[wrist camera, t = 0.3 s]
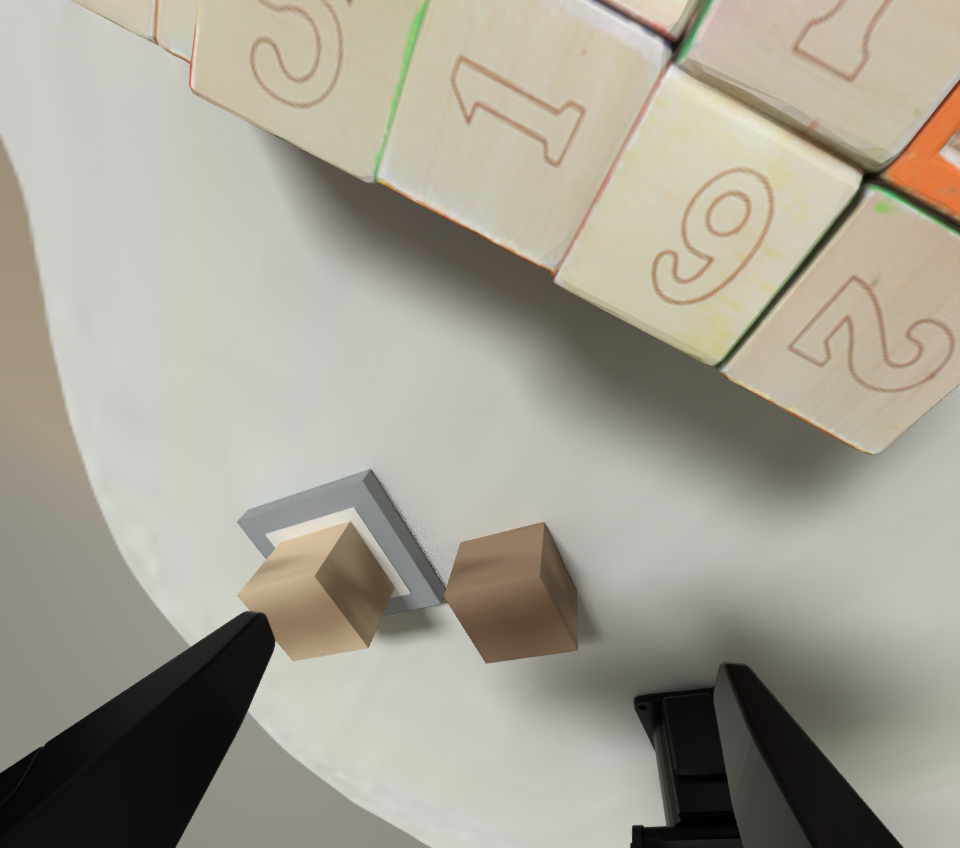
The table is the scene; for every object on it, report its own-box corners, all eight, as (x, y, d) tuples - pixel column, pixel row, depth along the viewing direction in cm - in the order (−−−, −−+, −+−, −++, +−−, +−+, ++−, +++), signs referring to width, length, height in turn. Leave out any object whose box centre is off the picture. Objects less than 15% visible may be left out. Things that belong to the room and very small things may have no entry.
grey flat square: (445, 589, 28) (440, 605, 27) (328, 614, 31) (319, 629, 30) (370, 469, 25) (361, 482, 23) (248, 510, 28) (235, 523, 26)
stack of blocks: (197, 28, 17) (-461, -248, 6) (224, -218, 14) (-982, -1612, 3) (699, 302, 18) (885, 473, 7) (824, 131, 15) (1446, 0, 4)
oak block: (395, 587, 27) (368, 647, 23) (327, 602, 28) (293, 661, 25) (350, 521, 25) (314, 576, 21) (281, 541, 27) (237, 595, 23)
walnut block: (576, 588, 26) (577, 650, 23) (496, 603, 28) (485, 663, 24) (544, 520, 24) (539, 576, 21) (461, 541, 26) (443, 596, 22)
